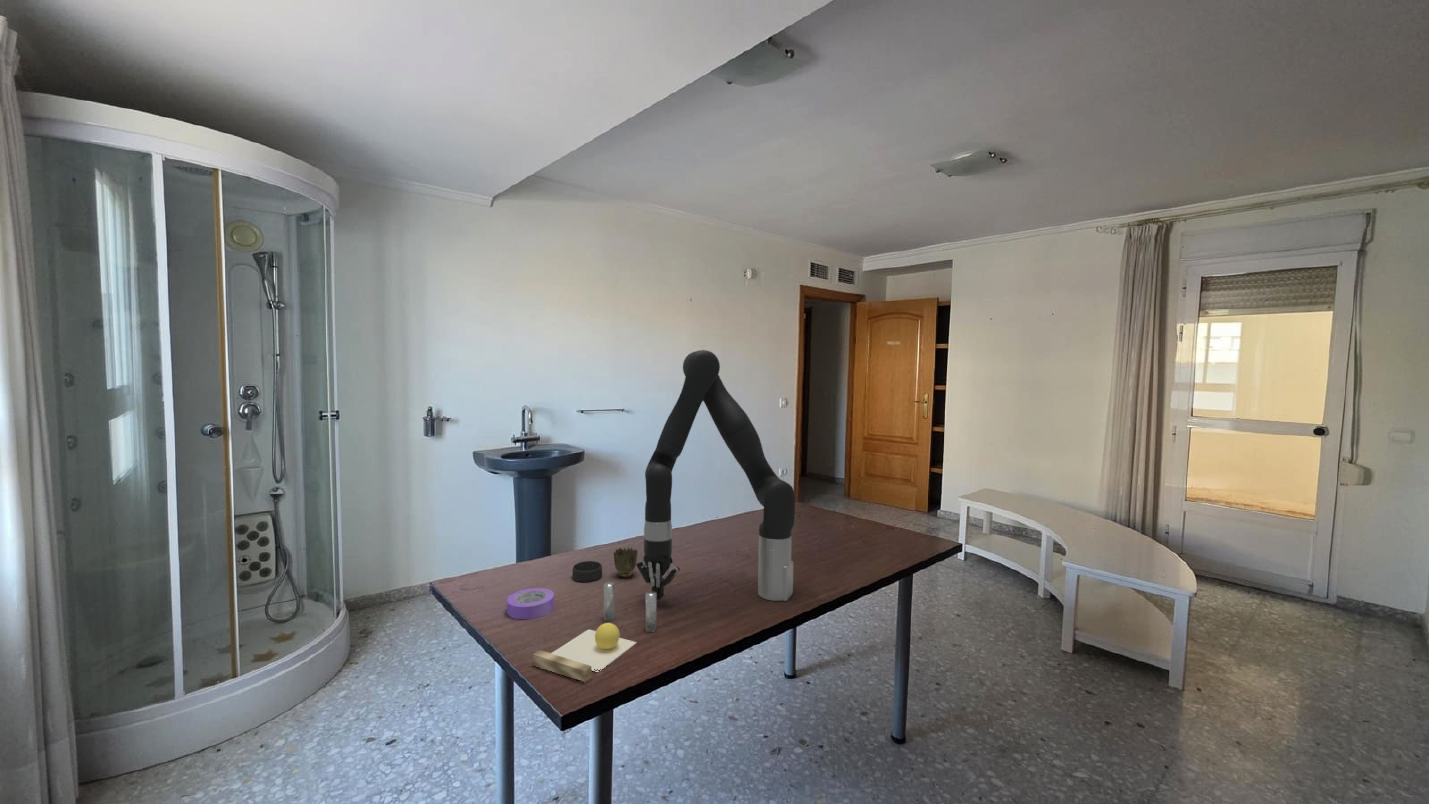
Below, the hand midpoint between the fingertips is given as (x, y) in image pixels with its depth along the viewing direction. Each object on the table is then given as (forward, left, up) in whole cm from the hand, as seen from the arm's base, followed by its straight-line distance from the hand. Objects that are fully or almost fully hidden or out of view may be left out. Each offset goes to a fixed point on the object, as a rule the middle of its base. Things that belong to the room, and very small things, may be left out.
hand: (657, 599), depth 140 cm
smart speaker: (+30, -7, -2) cm, 31 cm away
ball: (-2, +25, +1) cm, 25 cm away
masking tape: (+28, +18, -2) cm, 33 cm away
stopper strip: (0, +37, -2) cm, 37 cm away
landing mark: (0, +27, -2) cm, 27 cm away
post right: (-6, +13, -2) cm, 15 cm away
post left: (+6, +13, -2) cm, 15 cm away
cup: (+20, -13, -2) cm, 24 cm away
